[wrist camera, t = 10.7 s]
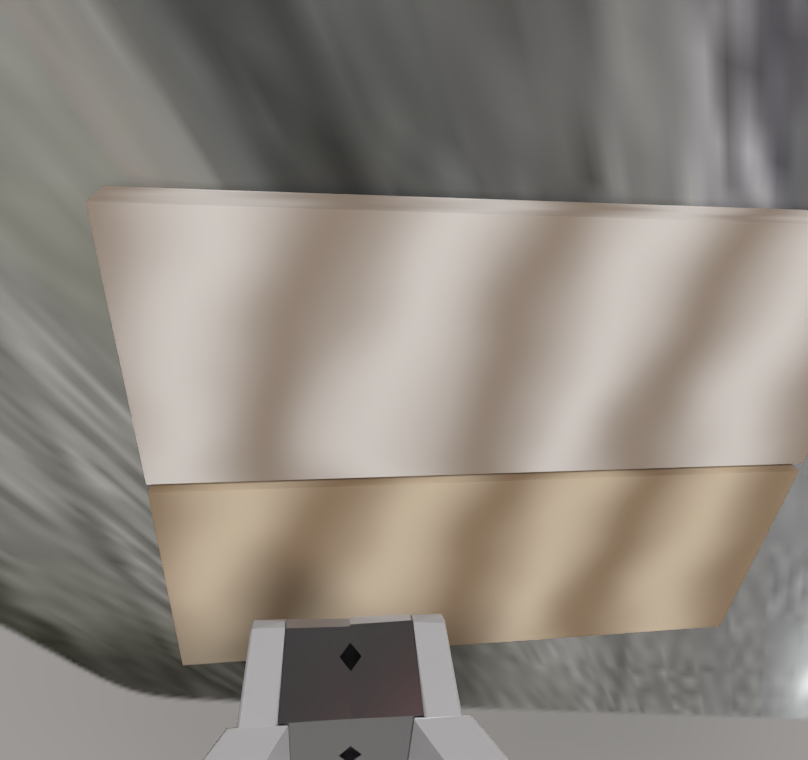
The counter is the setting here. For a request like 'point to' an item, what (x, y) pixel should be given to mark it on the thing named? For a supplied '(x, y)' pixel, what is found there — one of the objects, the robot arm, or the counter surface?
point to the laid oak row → (464, 551)
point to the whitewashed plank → (451, 333)
